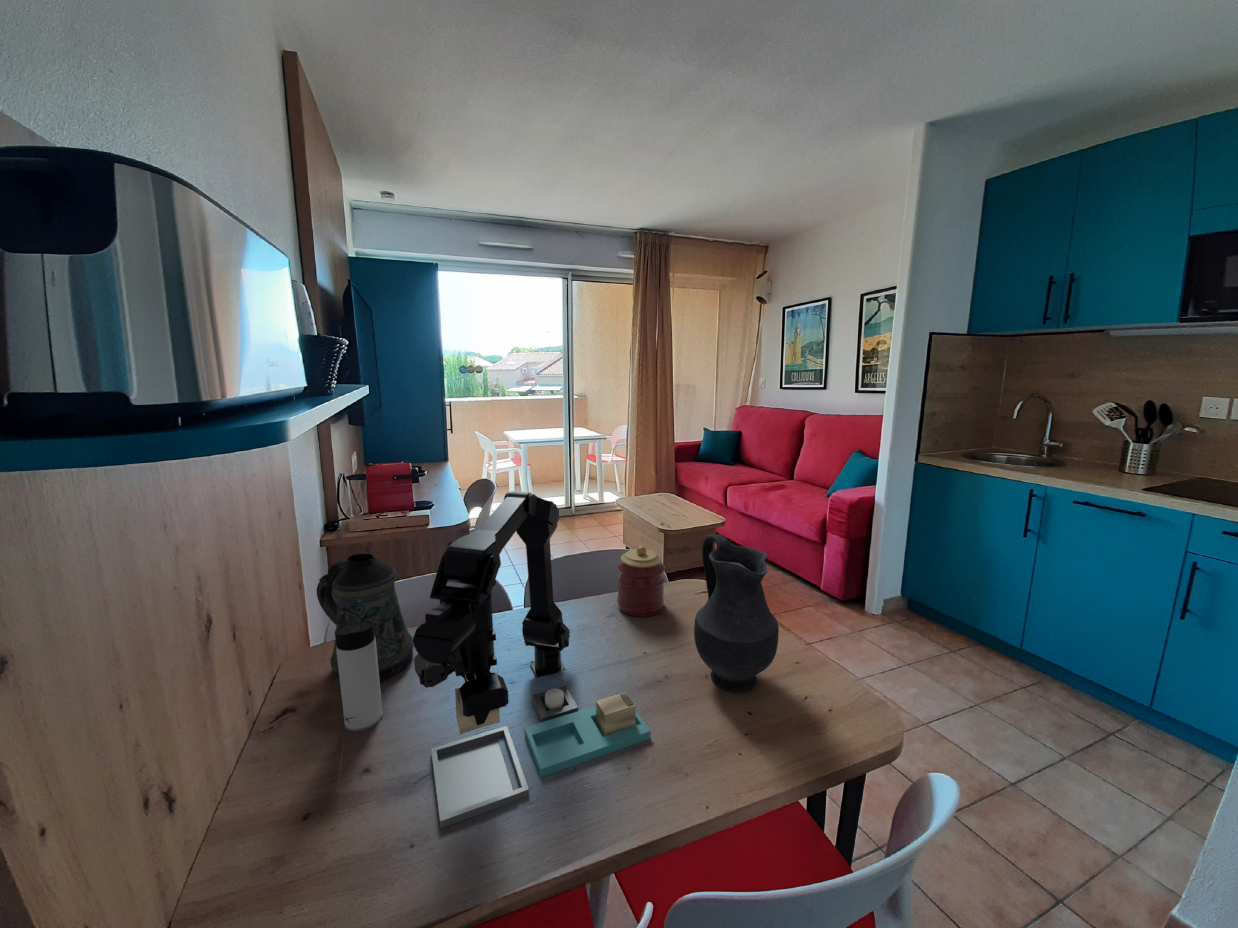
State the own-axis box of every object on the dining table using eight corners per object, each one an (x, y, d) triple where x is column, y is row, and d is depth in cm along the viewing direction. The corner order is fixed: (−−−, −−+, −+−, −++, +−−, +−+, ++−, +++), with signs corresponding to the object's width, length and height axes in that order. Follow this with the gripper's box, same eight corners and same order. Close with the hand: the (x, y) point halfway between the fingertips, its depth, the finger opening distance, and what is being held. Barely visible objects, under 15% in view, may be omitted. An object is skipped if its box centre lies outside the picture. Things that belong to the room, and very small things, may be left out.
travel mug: (344, 740, 86) (332, 637, 82) (345, 717, 92) (334, 619, 88) (383, 729, 89) (374, 629, 85) (382, 706, 95) (373, 612, 91)
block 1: (456, 716, 77) (454, 688, 76) (494, 706, 80) (493, 678, 79) (460, 733, 74) (458, 703, 73) (499, 722, 76) (498, 692, 75)
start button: (542, 702, 94) (542, 691, 94) (560, 697, 96) (560, 686, 96) (548, 714, 91) (548, 702, 91) (566, 708, 93) (566, 697, 92)
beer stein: (408, 680, 103) (399, 569, 98) (304, 695, 98) (289, 579, 93) (419, 638, 119) (411, 541, 114) (329, 649, 114) (318, 548, 109)
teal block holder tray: (524, 739, 87) (524, 727, 87) (625, 707, 95) (625, 696, 95) (541, 782, 78) (540, 768, 78) (650, 743, 87) (650, 730, 86)
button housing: (532, 706, 96) (531, 694, 95) (565, 696, 99) (565, 685, 98) (542, 730, 89) (542, 718, 89) (578, 718, 92) (578, 707, 92)
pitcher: (723, 715, 94) (732, 569, 88) (668, 657, 112) (673, 533, 106) (792, 692, 101) (805, 555, 95) (730, 641, 119) (738, 523, 113)
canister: (613, 615, 131) (613, 553, 127) (621, 593, 143) (621, 536, 140) (661, 619, 129) (663, 556, 125) (665, 597, 141) (667, 539, 138)
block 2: (596, 724, 89) (596, 700, 88) (625, 715, 92) (625, 691, 91) (604, 739, 86) (605, 714, 85) (635, 729, 88) (635, 704, 87)
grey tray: (431, 758, 83) (431, 748, 82) (507, 735, 88) (507, 725, 88) (441, 832, 70) (440, 821, 69) (529, 800, 75) (528, 789, 75)
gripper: (412, 607, 79) (419, 693, 82) (419, 672, 62) (428, 777, 65) (483, 594, 83) (486, 675, 86) (507, 651, 67) (511, 750, 70)
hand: (478, 714), depth 77 cm, fingers closed on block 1, 4 cm apart
